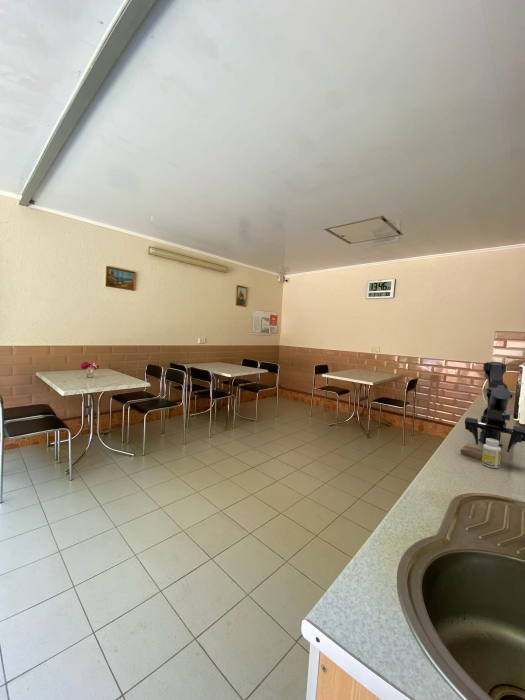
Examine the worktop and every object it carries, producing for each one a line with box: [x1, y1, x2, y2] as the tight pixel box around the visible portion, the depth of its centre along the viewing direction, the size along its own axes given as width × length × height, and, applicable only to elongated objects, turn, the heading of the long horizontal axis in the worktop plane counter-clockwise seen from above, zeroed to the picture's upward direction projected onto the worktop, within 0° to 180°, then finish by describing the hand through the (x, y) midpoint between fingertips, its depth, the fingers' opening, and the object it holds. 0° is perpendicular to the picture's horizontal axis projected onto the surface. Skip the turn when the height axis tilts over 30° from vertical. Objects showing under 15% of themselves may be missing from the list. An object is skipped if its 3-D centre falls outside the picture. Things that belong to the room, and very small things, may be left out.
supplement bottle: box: [481, 438, 502, 469], centre depth 112 cm, size 5×5×10 cm
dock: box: [460, 442, 483, 461], centre depth 122 cm, size 10×8×2 cm
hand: (491, 448), depth 111 cm, fingers open, 9 cm apart
